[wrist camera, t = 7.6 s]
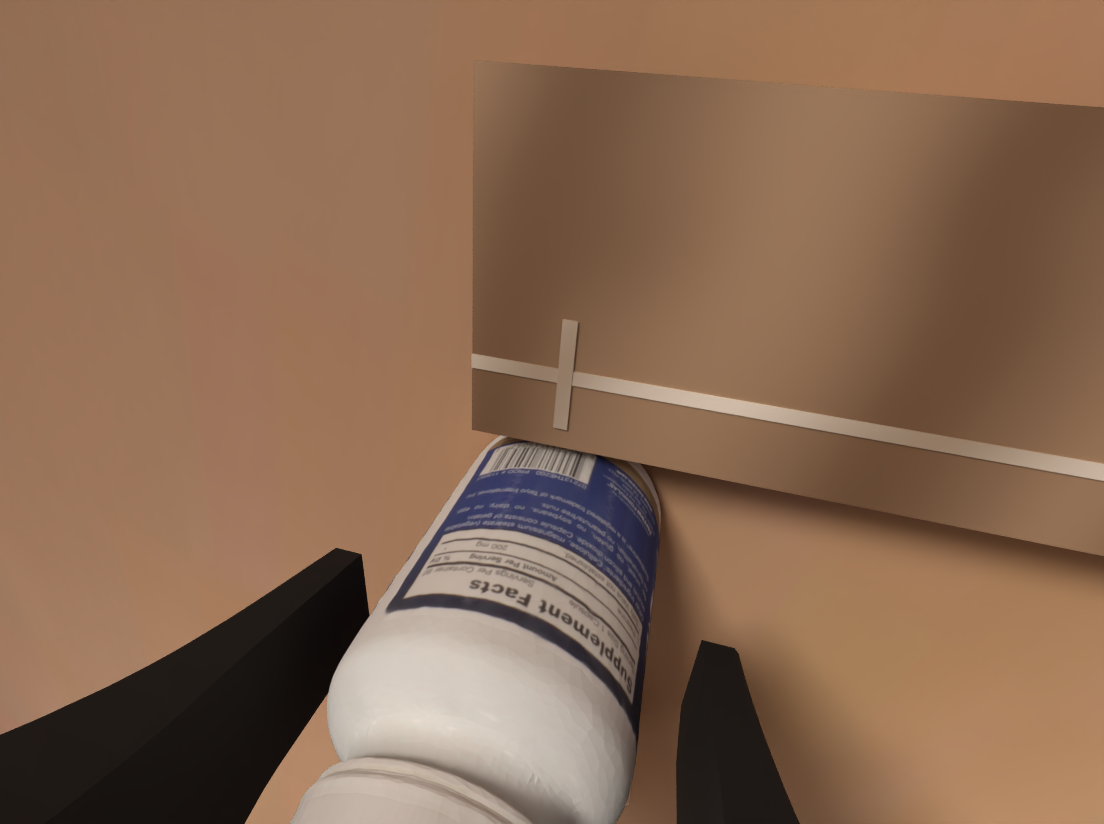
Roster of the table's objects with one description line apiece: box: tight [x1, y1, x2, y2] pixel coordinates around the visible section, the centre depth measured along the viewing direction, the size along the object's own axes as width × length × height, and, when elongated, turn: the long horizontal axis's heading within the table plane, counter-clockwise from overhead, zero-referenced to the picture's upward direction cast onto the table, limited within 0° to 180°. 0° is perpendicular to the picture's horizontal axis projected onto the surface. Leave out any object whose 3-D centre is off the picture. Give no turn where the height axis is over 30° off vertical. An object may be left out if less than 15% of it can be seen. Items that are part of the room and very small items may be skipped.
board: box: [472, 60, 1104, 556], centre depth 10 cm, size 18×7×2 cm, turn 85°
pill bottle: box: [290, 435, 661, 824], centre depth 11 cm, size 5×5×10 cm
